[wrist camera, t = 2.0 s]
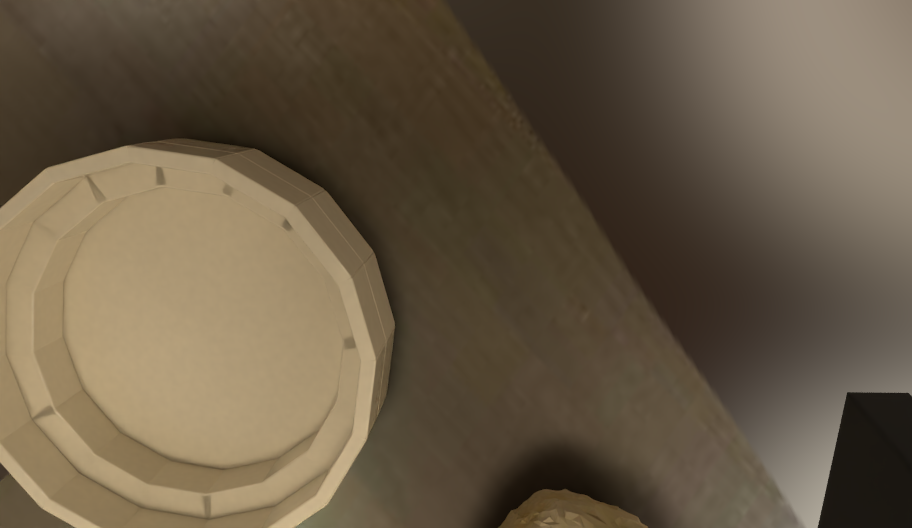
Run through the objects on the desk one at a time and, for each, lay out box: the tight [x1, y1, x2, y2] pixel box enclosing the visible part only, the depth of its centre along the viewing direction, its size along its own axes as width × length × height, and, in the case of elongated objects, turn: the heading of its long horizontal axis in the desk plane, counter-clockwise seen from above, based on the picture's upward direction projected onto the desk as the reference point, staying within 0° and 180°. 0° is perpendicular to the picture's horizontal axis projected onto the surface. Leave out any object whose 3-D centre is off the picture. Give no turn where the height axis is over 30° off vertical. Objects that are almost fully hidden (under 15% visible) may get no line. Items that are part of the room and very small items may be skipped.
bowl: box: [0, 138, 395, 528], centre depth 32 cm, size 16×16×5 cm
